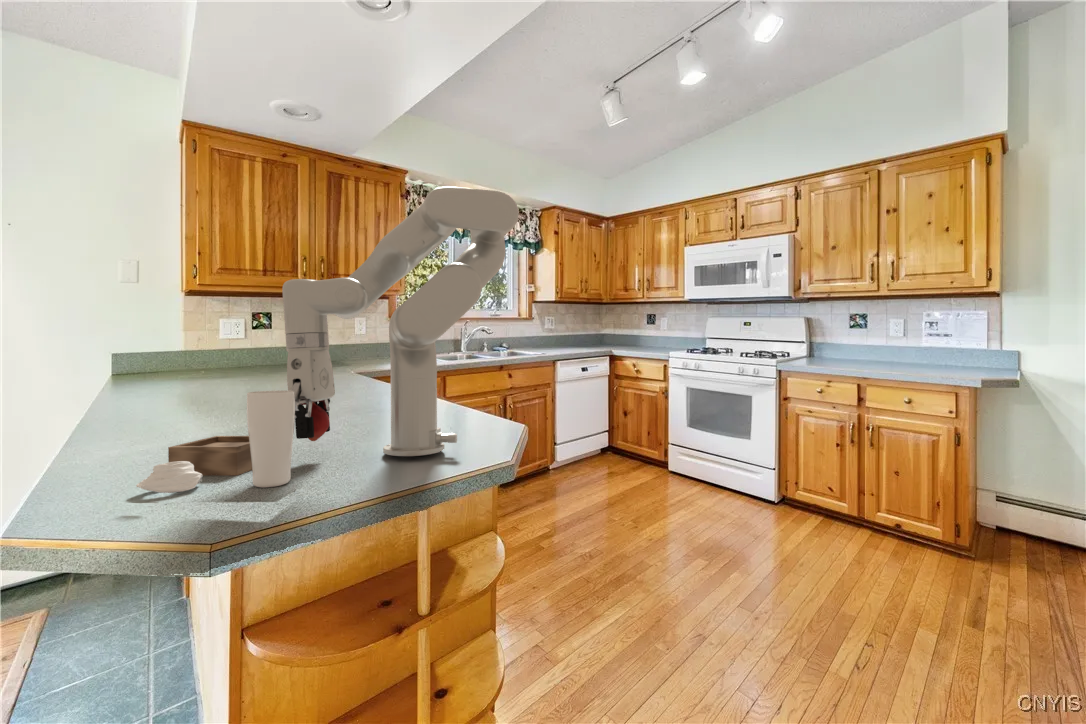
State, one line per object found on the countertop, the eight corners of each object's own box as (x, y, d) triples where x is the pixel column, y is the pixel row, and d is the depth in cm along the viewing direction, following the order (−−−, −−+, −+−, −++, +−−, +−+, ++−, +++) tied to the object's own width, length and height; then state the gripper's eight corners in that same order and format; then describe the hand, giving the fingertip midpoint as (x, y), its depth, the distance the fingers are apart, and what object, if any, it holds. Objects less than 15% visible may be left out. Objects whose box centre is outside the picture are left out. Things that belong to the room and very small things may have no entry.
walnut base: (276, 460, 94) (276, 435, 93) (237, 475, 82) (237, 446, 81) (216, 460, 93) (216, 435, 93) (168, 475, 81) (168, 447, 81)
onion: (324, 437, 96) (321, 398, 96) (335, 440, 92) (332, 399, 92) (293, 442, 92) (290, 401, 92) (303, 445, 88) (300, 403, 88)
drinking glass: (264, 478, 79) (263, 390, 79) (303, 478, 79) (303, 390, 79) (237, 489, 72) (236, 393, 72) (280, 490, 72) (279, 393, 72)
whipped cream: (134, 502, 67) (134, 468, 67) (138, 492, 72) (138, 460, 72) (203, 492, 72) (203, 461, 72) (202, 483, 77) (202, 454, 77)
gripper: (304, 341, 83) (311, 442, 83) (345, 343, 100) (350, 426, 101) (262, 344, 83) (269, 444, 83) (310, 344, 100) (315, 428, 101)
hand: (313, 433), depth 92 cm, fingers closed on onion, 5 cm apart
